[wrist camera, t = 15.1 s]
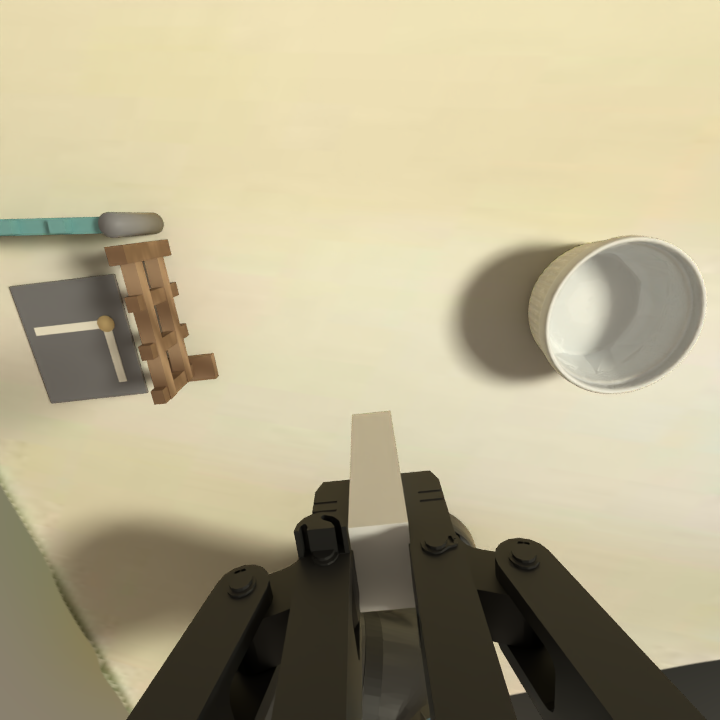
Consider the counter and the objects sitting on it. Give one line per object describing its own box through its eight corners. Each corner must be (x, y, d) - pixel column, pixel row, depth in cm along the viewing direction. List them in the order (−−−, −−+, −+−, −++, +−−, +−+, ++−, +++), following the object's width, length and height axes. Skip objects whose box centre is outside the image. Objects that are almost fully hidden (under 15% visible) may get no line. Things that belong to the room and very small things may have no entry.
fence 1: (161, 212, 39) (117, 211, 32) (165, 233, 40) (122, 237, 33) (-17, 217, 39) (-101, 217, 32) (-11, 237, 40) (-93, 243, 33)
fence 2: (218, 375, 45) (189, 409, 37) (170, 381, 45) (130, 415, 37) (186, 237, 40) (146, 242, 33) (133, 243, 41) (80, 250, 33)
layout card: (148, 392, 45) (146, 393, 45) (53, 402, 45) (50, 404, 45) (114, 274, 41) (112, 274, 41) (11, 286, 42) (8, 286, 41)
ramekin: (677, 317, 43) (735, 335, 36) (558, 393, 45) (592, 424, 39) (614, 202, 40) (665, 199, 33) (489, 291, 42) (514, 305, 36)
